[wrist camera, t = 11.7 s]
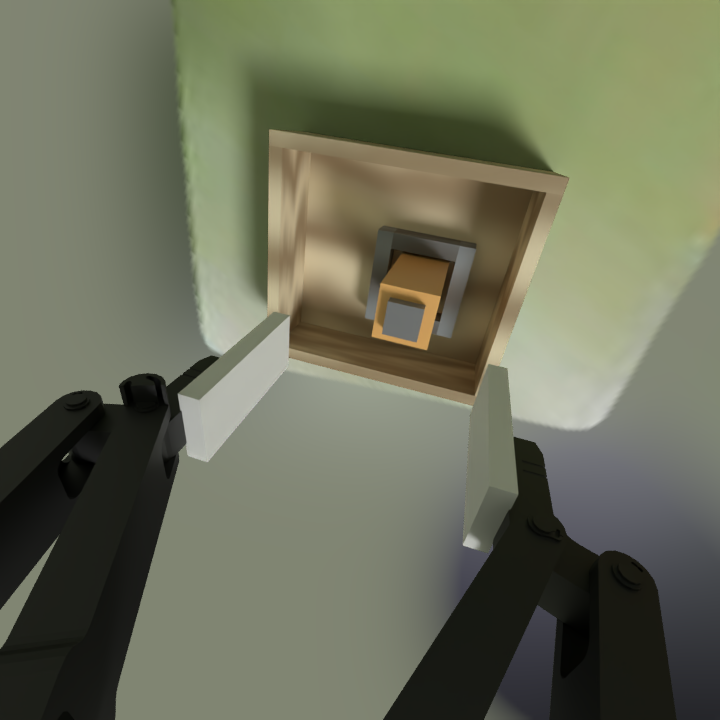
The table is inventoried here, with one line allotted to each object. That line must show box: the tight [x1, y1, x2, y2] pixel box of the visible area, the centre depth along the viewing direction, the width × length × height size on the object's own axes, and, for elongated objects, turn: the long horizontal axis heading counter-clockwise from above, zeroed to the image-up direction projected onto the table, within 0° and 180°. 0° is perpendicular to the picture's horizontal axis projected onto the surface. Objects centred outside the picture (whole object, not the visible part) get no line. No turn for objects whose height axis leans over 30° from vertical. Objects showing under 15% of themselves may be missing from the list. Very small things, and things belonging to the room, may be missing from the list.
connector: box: [372, 251, 450, 350], centre depth 30 cm, size 4×4×11 cm
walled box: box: [267, 129, 569, 406], centre depth 32 cm, size 18×20×6 cm
